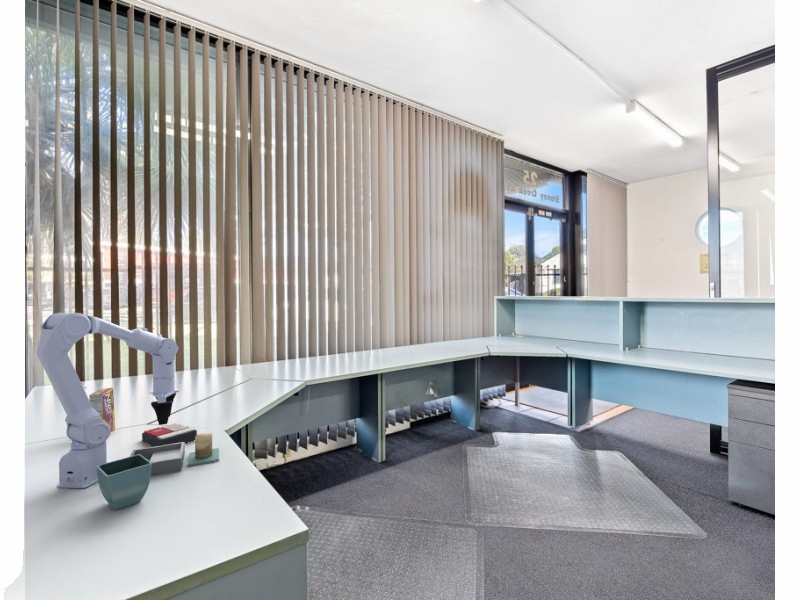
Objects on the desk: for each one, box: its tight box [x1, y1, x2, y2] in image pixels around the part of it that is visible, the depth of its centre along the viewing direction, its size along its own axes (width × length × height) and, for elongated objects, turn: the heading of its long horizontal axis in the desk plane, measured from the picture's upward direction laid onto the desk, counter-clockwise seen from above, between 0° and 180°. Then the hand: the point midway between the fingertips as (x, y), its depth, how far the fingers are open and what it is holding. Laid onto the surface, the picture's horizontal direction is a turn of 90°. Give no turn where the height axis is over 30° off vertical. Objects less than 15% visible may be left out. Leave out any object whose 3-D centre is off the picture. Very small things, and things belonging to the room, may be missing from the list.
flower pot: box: [96, 454, 152, 511], centre depth 88 cm, size 9×9×9 cm
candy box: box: [88, 387, 116, 433], centre depth 133 cm, size 9×4×15 cm, turn 17°
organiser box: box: [129, 442, 186, 478], centre depth 107 cm, size 13×13×4 cm
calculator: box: [141, 422, 198, 447], centre depth 127 cm, size 11×4×15 cm
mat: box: [186, 447, 220, 468], centre depth 112 cm, size 8×9×1 cm
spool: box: [194, 432, 213, 459], centre depth 112 cm, size 4×4×6 cm
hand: (164, 420), depth 118 cm, fingers open, 7 cm apart
